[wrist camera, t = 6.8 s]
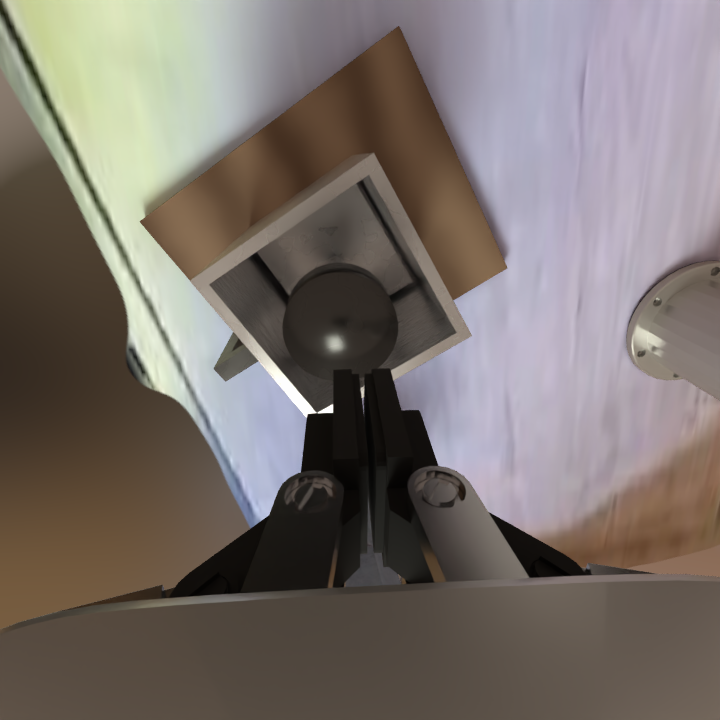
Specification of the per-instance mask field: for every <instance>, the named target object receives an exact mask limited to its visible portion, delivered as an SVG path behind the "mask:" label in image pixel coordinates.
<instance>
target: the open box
mask: <svg viewBox="0 0 720 720" xmlns="http://www.w3.org/2000/svg"><path fill="white" fill-rule="evenodd" d="M354 184H357V186H358V187H359V189H360V191H361V193H362V194H363V196H364V198H365V200H366V201H367V203H368V205H369V207H370V208H371V210H372V212H373V214H374V215H375V217H376V219H377V221H378V222H379V224H380V226H381V227H382V229H383V231H384V233H385V234H386V236H387V238H388V240H389V241H390V243H391V245H392V247H393V248H394V250H395V252H396V254H397V255H398V257H399V259H400V261H401V262H402V264H403V266H404V267H405V269H406V271H407V273H408V274H409V276H410V278H411V280H412V281H413V282H411V283H409V284H408V285H406V286H404V287H403V288H401V289H400V290H398V291H396V292H395V293H393V294H391V295H390V296H389V297H390V299H391V301H392V304H393V306H394V308H395V311H396V314H397V319H398V336H397V340H396V344H395V346H394V349H393V351H392V352H391V354H390V356H389V357H388V359H387V360H386V361H385V362H384V363H383V364H382V365H381V366H380V367H379V368H390V370H391V374H392V377H393V380H395V379H397V378H399V377H400V376H402V375H404V374H406V373H407V372H409V371H411V370H413V369H414V368H416V367H418V366H420V365H421V364H423V363H425V362H427V361H428V360H430V359H432V358H434V357H435V356H437V355H439V354H441V353H443V352H444V351H446V350H448V349H450V348H451V347H453V346H455V345H457V344H458V343H460V342H462V341H464V340H465V339H467V338H469V337H471V336H472V335H471V333H470V331H469V329H468V327H467V326H466V324H465V322H464V320H463V318H462V316H461V314H460V313H459V311H458V309H457V307H456V305H455V303H454V301H453V300H452V298H451V296H450V294H449V292H448V290H447V288H446V286H445V285H444V283H443V281H442V279H441V277H440V275H439V273H438V272H437V270H436V268H435V266H434V264H433V262H432V260H431V259H430V257H429V255H428V253H427V251H426V249H425V247H424V245H423V244H422V242H421V240H420V238H419V236H418V234H417V232H416V231H415V229H414V227H413V225H412V223H411V221H410V219H409V218H408V216H407V214H406V212H405V210H404V208H403V206H402V204H401V203H400V201H399V199H398V197H397V195H396V193H395V191H394V190H393V188H392V186H391V184H390V182H389V180H388V178H387V177H386V175H385V173H384V171H383V169H382V167H381V165H380V163H379V162H378V160H377V158H376V156H375V154H374V153H366V154H357V155H352V156H350V157H349V158H347V159H346V160H345V161H343V162H342V163H340V164H339V165H338V166H336V167H335V168H333V169H332V170H330V171H329V172H328V173H326V174H325V175H323V176H322V177H320V178H319V179H318V180H316V181H315V182H313V183H312V184H311V185H309V186H308V187H306V188H305V189H303V190H302V191H301V192H299V193H298V194H296V195H295V196H293V197H292V198H291V199H289V200H288V201H286V202H285V203H284V204H282V205H281V206H279V207H278V208H276V209H275V210H274V211H272V212H271V213H269V214H268V215H266V216H265V217H264V218H262V219H261V220H259V221H258V222H257V223H255V224H254V225H252V226H251V227H249V228H248V229H247V230H246V231H245V232H244V233H243V234H242V235H241V236H239V237H238V238H237V239H236V240H235V241H234V242H233V243H232V244H230V245H229V246H228V247H227V248H226V249H225V250H224V251H223V252H222V253H220V254H219V255H218V256H217V257H216V258H215V259H214V260H213V261H211V262H210V263H209V264H208V265H207V266H206V267H205V268H204V269H203V270H201V271H200V272H199V273H198V274H197V275H196V276H195V277H194V278H193V279H191V280H190V282H191V283H192V284H193V285H194V286H195V287H196V289H197V290H198V291H199V292H200V293H201V294H202V296H203V297H204V298H205V299H206V300H207V301H208V303H209V304H210V305H211V306H212V307H213V308H214V310H215V311H216V312H217V313H218V314H219V315H220V317H221V318H222V319H223V320H224V321H225V322H226V324H227V325H228V326H229V327H230V328H231V329H232V331H233V334H232V335H231V337H230V339H229V341H228V343H227V345H226V347H225V348H224V350H223V352H222V354H221V356H220V358H219V360H218V361H217V363H216V365H215V367H214V370H215V371H216V372H217V373H218V374H219V375H220V376H221V377H222V378H223V379H224V380H225V382H226V381H227V380H229V379H230V378H232V377H234V376H235V375H237V374H238V373H240V372H242V371H243V370H245V369H247V368H248V367H250V366H251V365H253V364H255V363H256V362H258V361H259V362H260V363H261V365H262V366H263V367H264V368H265V369H266V370H267V372H268V373H269V374H270V375H271V376H272V377H273V379H274V380H275V381H276V382H277V383H278V384H279V386H280V387H281V388H282V389H283V390H284V391H285V393H286V394H287V395H288V396H289V397H290V398H291V400H292V401H293V402H294V403H295V404H296V405H297V407H298V408H299V409H300V410H301V411H302V412H303V414H304V415H305V416H306V417H307V414H308V413H333V381H329V380H324V379H321V378H318V377H316V376H314V375H311V374H310V373H308V372H306V371H305V370H303V369H302V368H301V367H300V366H299V365H298V364H297V363H296V362H295V361H294V360H293V358H292V357H291V355H290V354H289V352H288V350H287V348H286V345H285V342H284V338H283V330H282V326H283V318H284V314H285V310H286V306H287V303H288V299H289V295H288V293H287V292H286V291H285V289H284V288H283V286H282V285H281V284H280V282H279V281H278V280H277V278H276V277H275V276H274V274H273V273H272V272H271V270H270V269H269V268H268V266H267V265H266V264H265V262H264V261H263V260H262V258H261V257H260V256H259V254H258V253H257V251H258V250H260V249H261V248H263V247H264V246H266V245H267V244H269V243H270V242H271V241H273V240H274V239H276V238H277V237H279V236H280V235H282V234H283V233H285V232H286V231H287V230H289V229H290V228H292V227H293V226H295V225H296V224H298V223H299V222H301V221H302V220H303V219H305V218H306V217H308V216H309V215H311V214H312V213H314V212H315V211H317V210H318V209H319V208H321V207H322V206H324V205H325V204H327V203H328V202H330V201H331V200H333V199H334V198H335V197H337V196H338V195H340V194H341V193H343V192H344V191H346V190H347V189H349V188H350V187H351V186H353V185H354ZM379 368H378V369H379ZM359 379H360V388H361V396H362V398H363V397H364V377H362V378H359Z"/></svg>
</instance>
